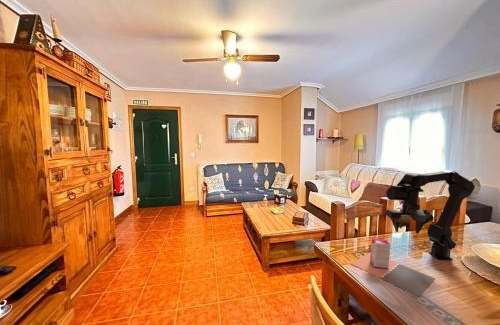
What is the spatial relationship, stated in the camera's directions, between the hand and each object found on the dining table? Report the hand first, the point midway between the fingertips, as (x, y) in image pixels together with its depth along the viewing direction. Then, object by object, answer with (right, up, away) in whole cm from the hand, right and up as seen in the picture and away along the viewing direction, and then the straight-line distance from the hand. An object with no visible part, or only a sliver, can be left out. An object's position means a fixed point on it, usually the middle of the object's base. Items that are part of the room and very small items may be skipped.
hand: (406, 232), depth 104 cm
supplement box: (-16, -13, -5) cm, 22 cm away
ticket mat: (-14, -14, -9) cm, 21 cm away
